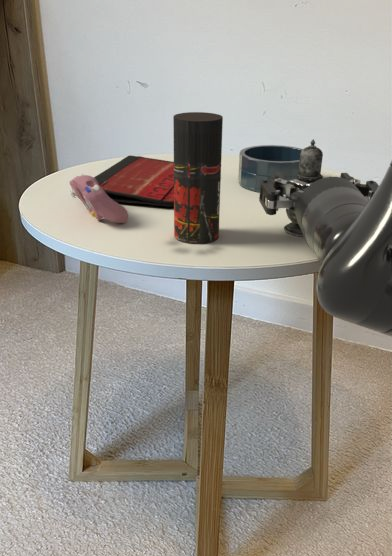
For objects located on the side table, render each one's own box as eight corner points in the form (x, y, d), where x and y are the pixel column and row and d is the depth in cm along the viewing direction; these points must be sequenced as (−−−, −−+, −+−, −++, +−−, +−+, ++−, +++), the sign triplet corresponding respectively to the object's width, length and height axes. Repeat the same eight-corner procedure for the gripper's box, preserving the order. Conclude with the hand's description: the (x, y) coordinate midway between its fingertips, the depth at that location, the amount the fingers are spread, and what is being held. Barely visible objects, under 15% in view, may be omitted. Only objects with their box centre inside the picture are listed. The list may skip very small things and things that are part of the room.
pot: (309, 176, 106) (312, 146, 103) (309, 196, 96) (313, 164, 93) (241, 172, 107) (243, 143, 105) (235, 191, 97) (236, 160, 94)
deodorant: (172, 228, 82) (171, 112, 74) (215, 227, 83) (218, 111, 75) (176, 244, 77) (175, 121, 69) (222, 242, 78) (226, 121, 70)
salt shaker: (302, 219, 86) (311, 132, 79) (333, 231, 82) (346, 140, 76) (272, 228, 83) (280, 138, 76) (304, 240, 79) (314, 146, 72)
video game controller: (83, 216, 90) (58, 177, 85) (108, 200, 91) (84, 160, 86) (106, 238, 82) (80, 196, 78) (133, 219, 83) (108, 177, 79)
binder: (77, 184, 91) (127, 153, 108) (78, 200, 92) (127, 166, 109) (178, 199, 87) (213, 164, 105) (177, 214, 89) (212, 178, 106)
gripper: (410, 187, 63) (368, 151, 76) (274, 187, 62) (257, 150, 76) (396, 255, 66) (359, 208, 80) (268, 254, 66) (253, 207, 80)
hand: (309, 180), depth 78 cm, fingers open, 8 cm apart
